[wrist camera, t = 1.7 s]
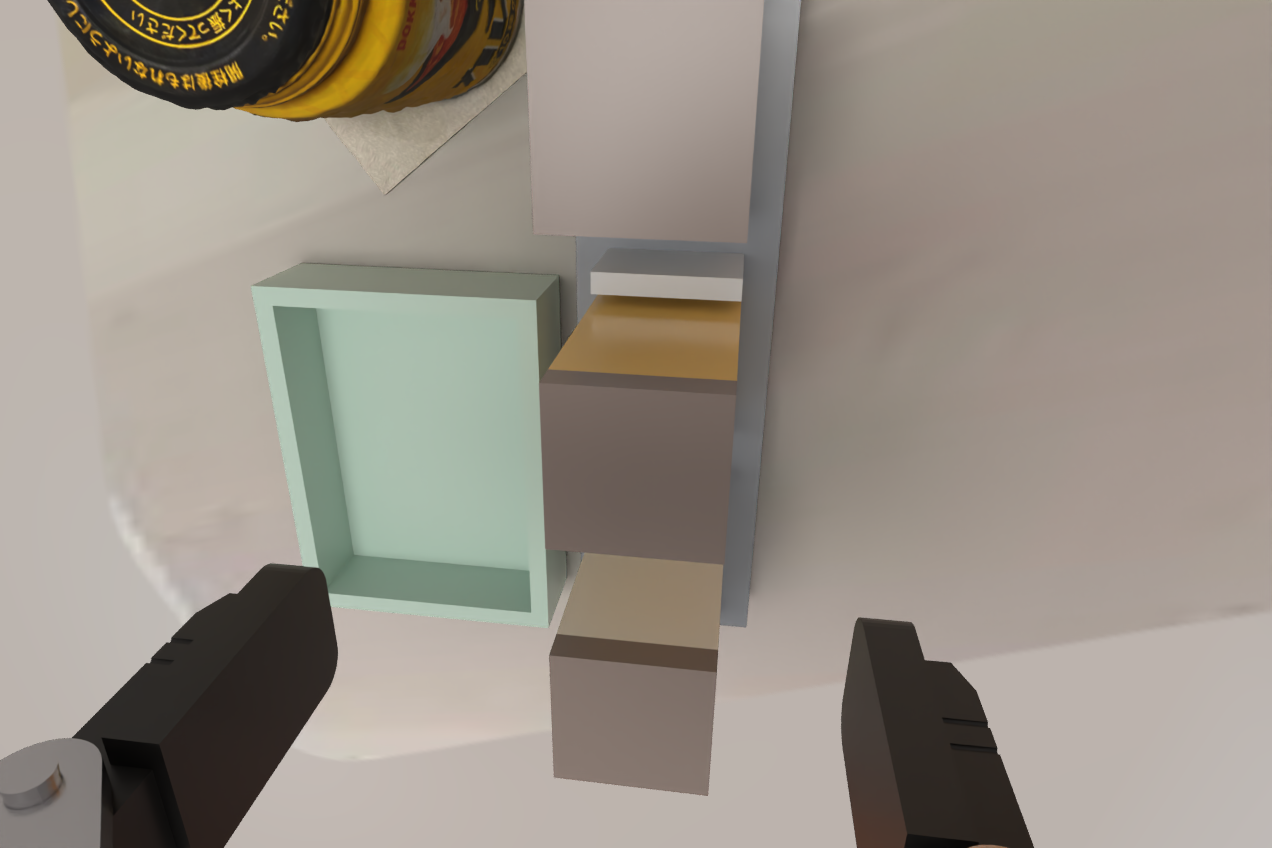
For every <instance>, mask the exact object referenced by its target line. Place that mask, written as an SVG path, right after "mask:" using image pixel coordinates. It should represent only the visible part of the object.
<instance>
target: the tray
mask: <svg viewBox="0 0 1272 848" xmlns="http://www.w3.org/2000/svg"><path fill="white" fill-rule="evenodd" d="M251 290H252V295H253V301H254V306H255V311H256V317H257V322H258V327H259V333H260V338H261V343H262V349H263V354H264V360H265V365H266V370H267V376H268V381H269V386H270V392H271V397H272V403H273V408H274V413H275V419H276V424H277V429H278V435H279V440H280V445H281V451H282V456H283V462H284V467H285V472H286V478H287V483H288V488H289V494H290V499H291V504H292V510H293V515H294V521H295V526H296V531H297V537H298V542H299V547H300V553H301V558H302V564H303V566H306V567H317V568H320V569H321V570H322V571H323V573H324V575H325V577H326V582H327V587H328V593H329V599H330V605H331V607H339V608H349V609H359V610H369V611H379V612H390V613H400V614H410V615H420V616H430V617H440V618H451V619H461V620H471V621H481V622H491V623H501V624H512V625H522V626H532V627H542V628H549V625H550V623H551V620H552V617H553V614H554V612H555V609H556V606H557V603H558V601H559V598H560V595H561V592H562V590H563V587H564V584H565V581H566V578H567V568H566V551H560V550H548V549H545V531H544V505H543V479H542V453H541V427H540V400H539V382H540V380H541V379H542V377H543V376H544V374H545V373H546V371H547V370H548V368H549V367H550V365H551V364H552V362H553V361H554V359H555V358H556V356H557V355H558V353H559V352H560V350H561V334H560V294H559V275H543V274H522V273H501V272H479V271H458V270H437V269H415V268H394V267H373V266H352V265H330V264H309V263H301V264H299V265H297V266H294V267H292V268H290V269H288V270H285V271H283V272H281V273H279V274H276V275H274V276H272V277H270V278H267V279H265V280H263V281H261V282H259V283H256V284H254V285H252V286H251Z"/></svg>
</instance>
